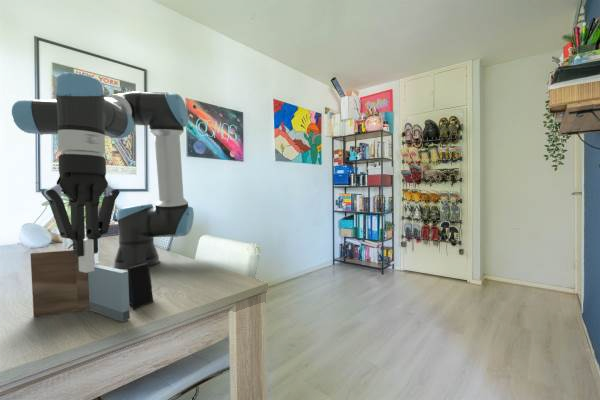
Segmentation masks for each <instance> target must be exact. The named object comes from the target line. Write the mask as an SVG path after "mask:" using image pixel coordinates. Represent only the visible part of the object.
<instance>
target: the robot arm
mask: <svg viewBox="0 0 600 400" xmlns="http://www.w3.org/2000/svg"><path fill="white" fill-rule="evenodd" d="M55 82H56V83H55V93H54V95H55V99H34V98H32V99H20V100H18V101H16V102H14V104H13V105H12V107H11V116H12V118H13V119H12V120H13V122H14V124H15V125H16V127H17V128H18V129H19V130H21V131H22V132H24V133H27V134H32V135H33V134H35V135H39V136H40V135H41V136H42V135H57V151H58V152H59V153H61V154H59V156H58V158H57V159H58V174H59V177H58V179H57V181H56V184H55V185H54V186H52V187H50V188H48V189H43V190H41V195H42V196H43V197H44V198H45V200H47V201H48V204H49V206H50V209H51V213H52V215H53V218H54V221H55V224H56V227H57V230H58V232H59V235H60V238H64V239H68V240H71V241H72V249H73V254H74V256H77V257H79V271H81V272H85V273H87V272H92V271H94V260H95V254H98V252H99V239H101V237H102V236H103V235H106V234H108V232H109V230H110V226H111V225H110V224H111V219H112V215H113V211H114V206H115V203H116V199H117V198H118V196H119V195H120V190H119V189H114V188H113V187H112V186H110V185H109V182H108V180H107V179H106V175H107V159H106V158H105V157H104V155H105V154H106V136H107V137H109V138H111V139H112V138H113V139H124V138H127V137H128V136H130V135H131V134H132V132H133V130H134V128H135V126H146V127H148V130H149V132H150V133H152V135H153V136H154V149H155V159H156V160H155V161H156V175H157V186H158V201H156V202H155V204H154V205H155V207H154V206H153V203H147V204H139V205H131V206H125V207H121V208H119V210H118V215H117V226H118V228H117V231H118V249H117V253H116V255H115V258H114V262H113V263H114V264H113V265H114V267H113V268H116V269H125V270H126V269H127V270H128V268H131V267H135V266H138V265H142V264H146V263H148V264H149V267H153V266H155V265H157V264H159V262H160V254H159V253H158V251H157V250H158V249H157V247H156V246H155V241H154V238H169V237H170V238H171V237H174V238H178V237H185V236H188V235H189V234H190V233H191V230H192V228H193V224H194V215H195V214H194V213H195V212H194V208H193V206H189V201H188V200H187V199H186V198H185V197H184V184H183V170H182V169H183V167H182V166H183V165H182V154H181V153H182V152H181V149H182V148H181V135H182V134H184V132H185V131H184V128H186V127H187V126H189V114H188V109H187V106H186V103H185V101H184V98H183V97H182V96H181V95H180V94H179V93H173V92H172V93H171V92H157V91H156V92H155V91H154V92H152V91H151V92H150V91H148V92H147V91H130V92H123V93H116V94H115V93H113V94H108V95H106V93H105V89H104V84H103V82H102V81H101V80H99V79H98V78H96V77H94V76H90V75H88V74H83V73H80V72H62V73H59V74H58V75H57V76H56V81H55ZM62 193H63V194H64V195H65V196H66V197H67V199H68V205H69V207H70V218H69V216H68V215H69V214H68V212H67V209H66V205H65V203H64V201H63V198H62V196H63V194H62ZM102 195H103V198H102V201H101V206H100V210H99V205H100V197H101V196H102ZM85 237H87V238H85Z"/></svg>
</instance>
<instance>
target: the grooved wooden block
mask: <svg viewBox="0 0 600 400" xmlns="http://www.w3.org/2000/svg"><path fill="white" fill-rule="evenodd" d="M94 264H96V263H95V259H94ZM30 269H31V270H30V273H31V288H32V289H31V291H32V310H33V317H34V318H37V317H44V316H51V315H58V314H64V313H70V312H71V313H72V312H76V311H77V312H82V311H90V310H89V281H88V272H87V273H85V272H81V271H79V257H77V256H74V254H73V248H67V249H55V250H54V249H52V250H39V251H38V250H37V251H33V252H30Z"/></svg>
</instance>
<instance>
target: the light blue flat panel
mask: <svg viewBox="0 0 600 400" xmlns="http://www.w3.org/2000/svg"><path fill="white" fill-rule="evenodd" d="M125 270H126V269H125ZM125 270H121V269H116V268H115V267H110V266H105V265H101V264H96V263H95V264H94V271H92V272H88V281H89V310H88V311H91V312H95V313H98V314H100V315H103V316H105V317H108V318H111V319H114V320H117V321H120V322H122V323H123V322H126V321H128V320H130V319H131V316H130V315H131V314H130V313H131V311H130V304H129V283H128V271H125Z"/></svg>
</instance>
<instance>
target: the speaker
mask: <svg viewBox="0 0 600 400" xmlns="http://www.w3.org/2000/svg"><path fill="white" fill-rule="evenodd" d="M127 270H128V283H129V305H132V310H133V311H135V310H138V309H140V308H142V307H145V306H147V305H149V304H151V303H154V295H153V284H152V277H151V272H150V266H149V264H148V263H146V264H142V265H138V266H135V267H131V268H128V269H127Z"/></svg>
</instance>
